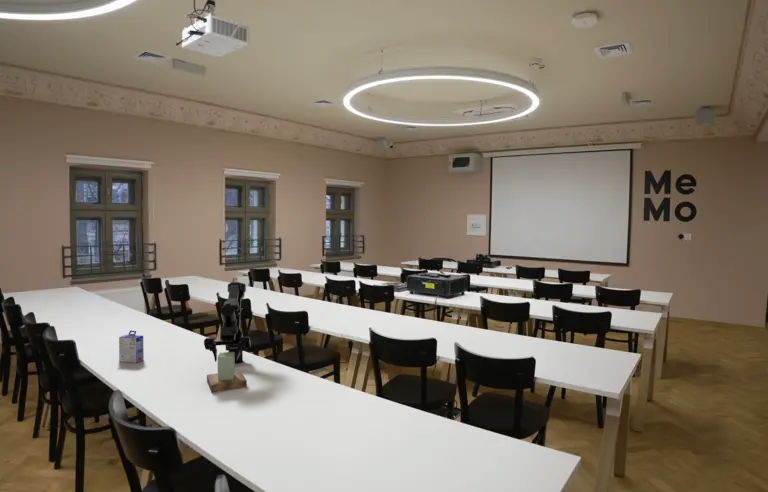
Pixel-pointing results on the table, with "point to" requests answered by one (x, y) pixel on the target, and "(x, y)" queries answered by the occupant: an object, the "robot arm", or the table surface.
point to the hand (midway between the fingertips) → (225, 361)
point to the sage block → (226, 365)
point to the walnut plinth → (226, 382)
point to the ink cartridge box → (131, 348)
